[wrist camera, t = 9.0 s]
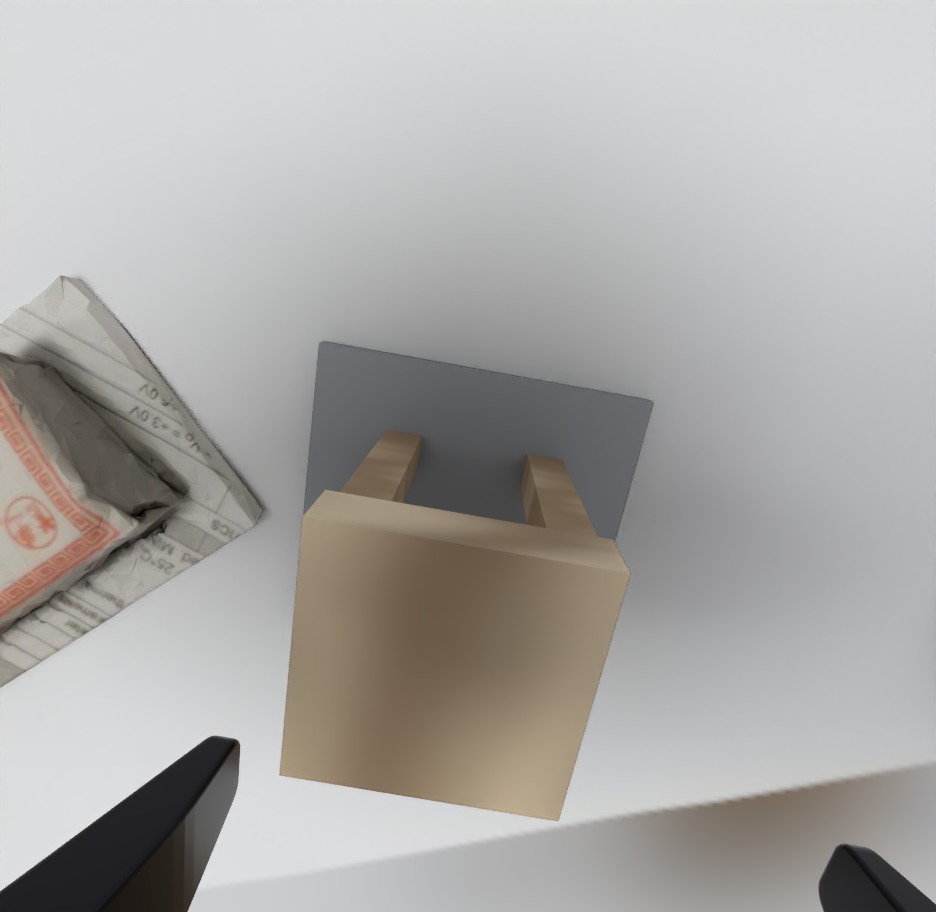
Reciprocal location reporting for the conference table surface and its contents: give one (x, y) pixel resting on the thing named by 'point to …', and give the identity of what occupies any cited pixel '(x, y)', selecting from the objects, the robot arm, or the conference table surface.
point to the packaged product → (95, 477)
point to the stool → (447, 640)
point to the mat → (472, 433)
